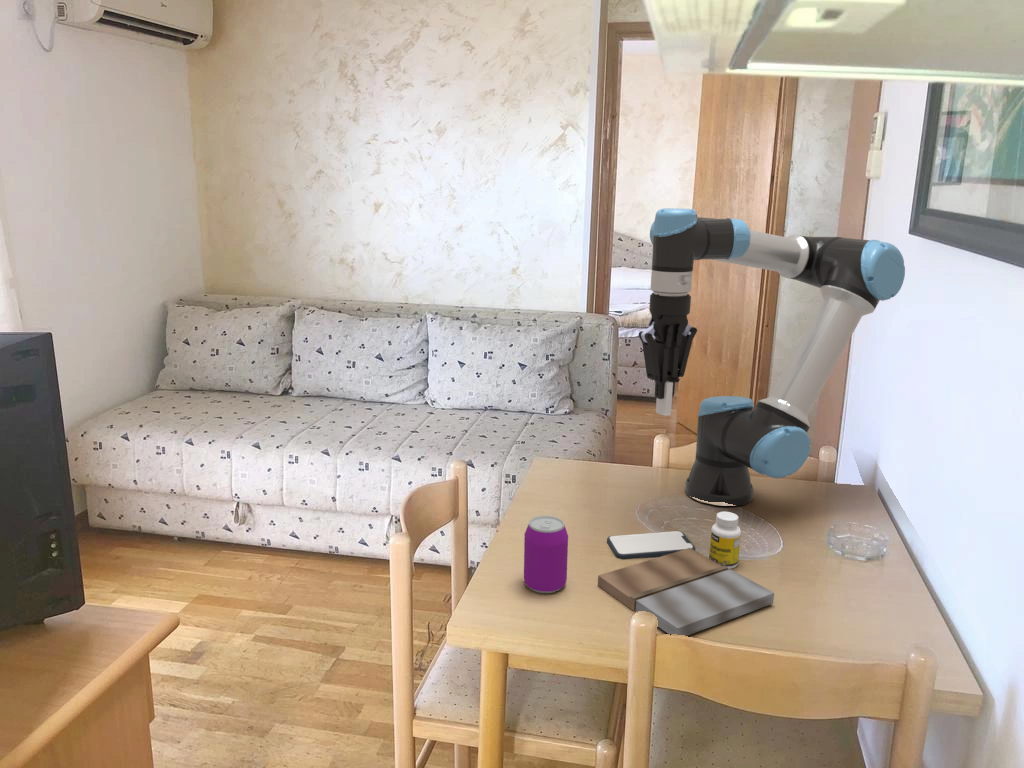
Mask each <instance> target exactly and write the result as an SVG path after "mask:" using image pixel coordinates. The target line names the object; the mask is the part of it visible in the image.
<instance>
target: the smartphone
mask: <svg viewBox="0 0 1024 768" xmlns="http://www.w3.org/2000/svg"><path fill="white" fill-rule="evenodd" d="M606 543H607V545H608V546H609V548H610V550H611V551H612V553H613V554H614V557H615V558H616V559H619V560H635V559H638V560H639V559H651V558H652V559H654V558H658V557H661V556H664V555H668V554H671V553H674V552H678V551H681V550H684V549H688V548H691V549H693V550H695V551H696V547H695V545H694V544H693V542H692V541H691V540H690V539H689V538H688V537H687V536H686V534H685V533H684V532H682V531H680V530H671V531H661V532H660V531H657V532H645V533H633V534H632V533H630V534H621V535H619V534H618V535H617V534H616V535H610V536H608V537H607V538H606Z"/></svg>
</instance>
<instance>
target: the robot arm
mask: <svg viewBox="0 0 1024 768" xmlns="http://www.w3.org/2000/svg"><path fill="white" fill-rule="evenodd" d="M654 217H655V218H654V221H653V222H652V224H651V227H650V230H649V239H650V242H651V244H652V255H651V256H652V258H651V262H652V264H651V275H650V289H649V290H650V291H651V292H652V293H651V294H650V296H649V313H650V315H651V317H650V321H649V323H648V327H647V329H645V330H644V331H642V330H641V331H639V332H638V338H639V339H640V341H641V344H642V351H643V359H644V364H645V372H646V373H645V374H646V378H647V379H649V380H652V381H654V382H655V384H654V397H655V398H656V403H655V405H656V406H655V413H656V414H657V415H662V416H664V417H667V416H668V417H669V416H671V415H672V404H673V397H674V395H675V389H676V388H675V387H676V386H675V385H676V383H679V382H680V380H681V378H683V377H684V376H685V372H686V368H687V364H688V360H689V357H690V352H691V348H692V344H693V340H694V338H695V336H696V335H697V332H698V329H697V327H694V326H691V325H690V324H689V319H688V317H687V316H688V315H690V313H691V300H692V296H691V295H690V294H689V293H690V292H692V286H693V284H692V283H693V270H694V262H695V261H700V260H702V261H703V260H712V261H717V262H723V263H728V264H732V265H733V264H734V265H740V266H745V267H750V268H757V269H761V270H767V271H770V272H771V271H773V272H776V273H778V274H779V275H780V276H781V277H782V278H784V279H791V280H794V281H798V282H800V283H804V284H807V285H810V286H813V287H815V288H819V289H820V293H821V295H822V301H821V302H820V304H819V306H818V307H817V309H816V311H815V313H814V315H813V316H812V318H811V320H810V322H809V324H808V325H807V327H806V329H805V330H804V333H803V335H802V337H801V338H800V340H799V341H798V343H797V345H796V347H795V349H794V351H793V353H792V355H791V357H790V359H789V360H788V362H787V364H786V366H785V368H784V369H783V371H782V373H781V375H780V376H779V378H778V381H776V383H775V386H774V387H773V389H772V392H770V394H769V397H766V398H762V399H760V400H758V401H757V403H756V405H754V401H753V399H751V398H748V397H745V396H738V395H735V396H734V395H722V396H721V395H720V396H710V397H707V398H704V399H702V401H701V402H700V404H699V410H698V414H697V431H696V447H695V458H694V463H693V465H692V467H691V469H690V472H689V475H688V476H687V478H686V481H685V489H684V491H685V494H686V495H687V496H688V497H689V496H691V497H695V498H698V499H700V500H704V501H708V502H725V503H728V504H733V505H739V506H738V507H741V506H740V505H742V506H744V505H748V504H749V503H751V502H752V501H753V499H754V498H753V496H754V486H753V484H752V482H751V476H750V474H751V473H750V471H749V469H751V470H753V471H755V472H756V473H757V474H760V475H765V476H767V477H770V478H773V479H782V478H783V479H784V478H786V477H788V476H792V475H793V474H795V473H797V471H798V470H800V469H801V468H802V467H803V465H804V464H805V462H806V461H807V460H808V458H809V454H810V451H811V447H810V445H811V439H810V438H811V437H810V436H809V434H808V431H809V430H810V428H811V425H810V421H809V419H808V418H809V417H808V415H809V414H810V412H811V410H812V409H813V406H814V404H815V403H816V401H817V399H818V397H819V396H820V394H821V392H822V390H823V388H824V387H825V385H826V383H827V381H828V379H829V378H830V376H831V373H832V372H833V370H834V368H835V366H836V365H837V363H838V361H839V359H840V357H841V356H842V354H843V352H844V351H845V348H846V346H847V344H848V343H849V341H850V339H851V337H852V336H853V334H854V332H855V330H856V328H857V327H858V324H859V323H860V321H861V319H862V318H863V317H864V316H866V315H869V314H870V315H871V314H873V313H874V311H875V309H876V308H877V306H878V304H879V303H880V301H886V300H887V301H888V300H890V299H892V298H894V297H896V296H897V294H898V293H899V292H900V291H901V289H902V287H903V283H904V281H905V275H906V266H905V260H904V256H903V254H902V252H901V251H900V250H899V248H898V247H897V246H896V245H894V244H892V243H889V242H887V241H886V242H885V241H880V240H878V239H862V238H861V239H860V238H849V237H839V236H807V235H806V236H805V235H800V234H791V235H788V236H782V235H776V234H771V233H766V232H761V231H756V230H752V229H750V228H749V226H748V224H747V223H746V221H744V220H743V219H738V218H730V217H729V218H728V217H727V218H713V217H700V216H697V211H696V210H695V209H693V208H679V207H678V208H671V207H669V208H660V209H659V210H657V211H656V212H655V216H654ZM747 503H748V504H747Z"/></svg>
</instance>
